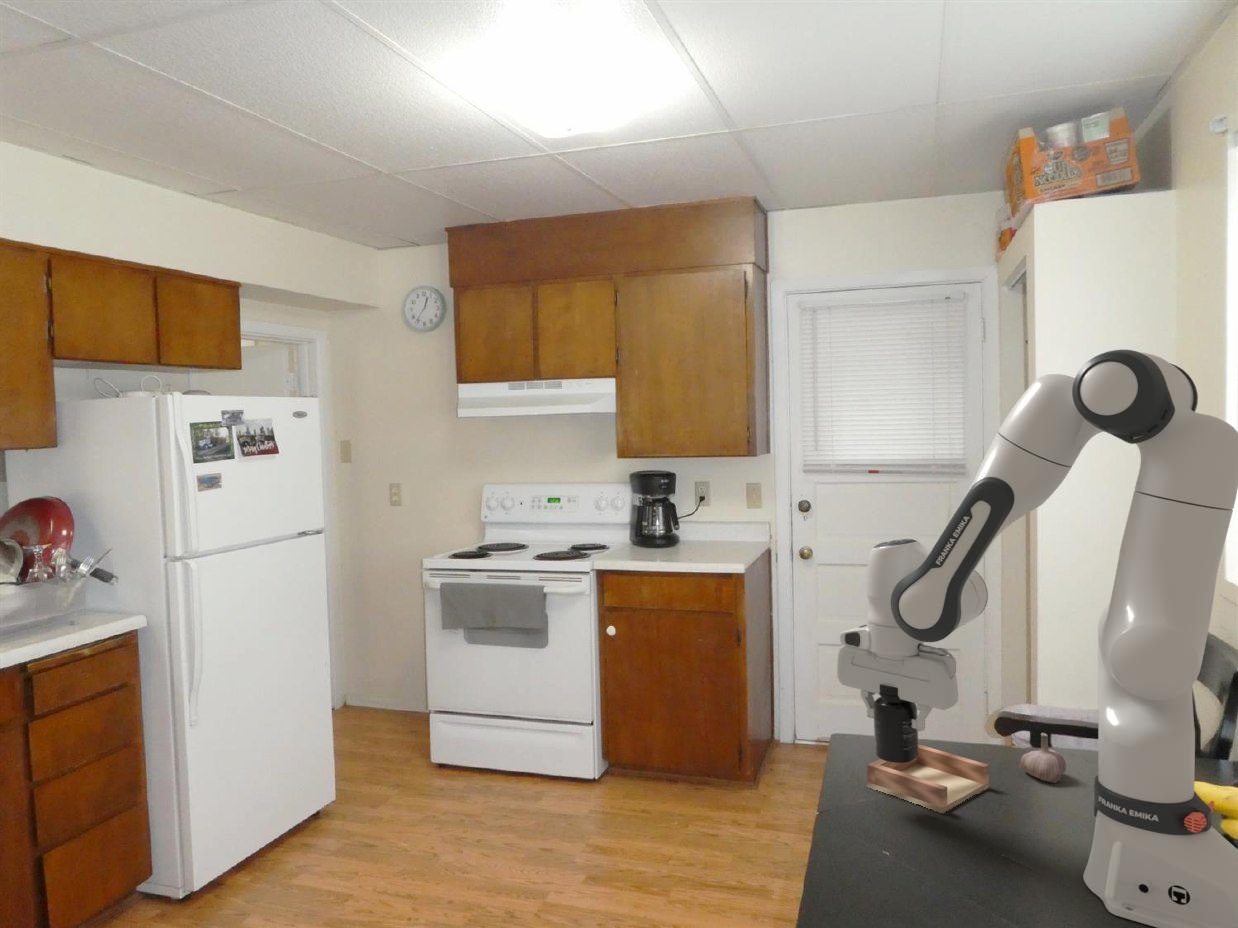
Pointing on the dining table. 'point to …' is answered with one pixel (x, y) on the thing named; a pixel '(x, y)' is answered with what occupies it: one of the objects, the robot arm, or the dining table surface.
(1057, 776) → the garlic bulb
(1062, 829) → the dining table surface
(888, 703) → the supplement bottle
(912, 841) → the dining table surface
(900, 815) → the dining table surface
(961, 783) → the open-sided tray
